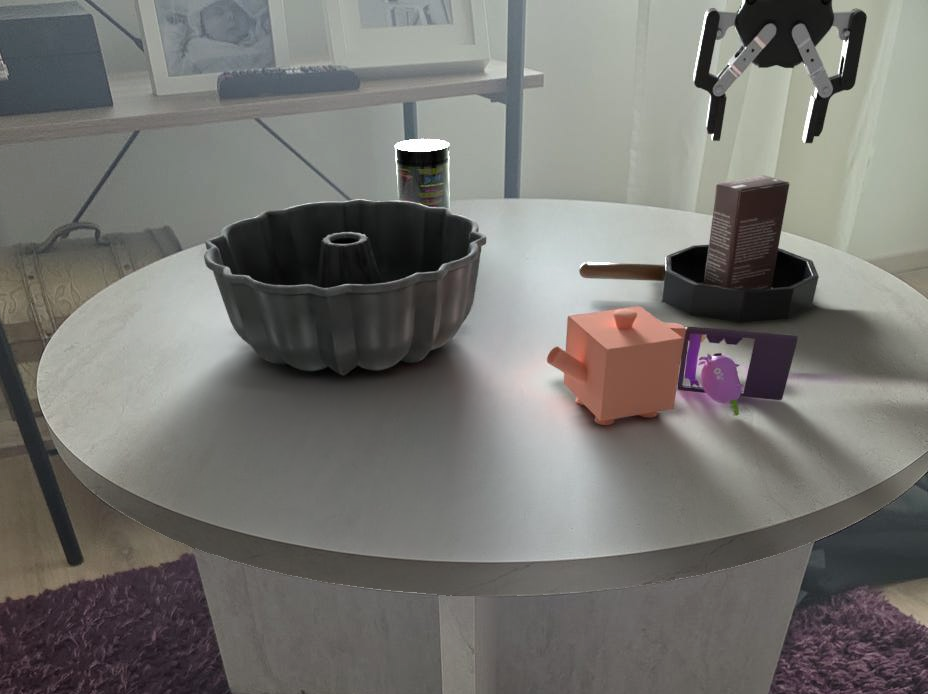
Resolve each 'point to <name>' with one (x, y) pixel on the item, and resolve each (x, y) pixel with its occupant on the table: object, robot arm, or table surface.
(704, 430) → the table surface
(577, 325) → the pink cube teapot
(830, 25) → the robot arm
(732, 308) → the frying pan
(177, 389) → the table surface
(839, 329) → the table surface
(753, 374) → the purple frame figurine
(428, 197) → the supplement container
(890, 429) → the table surface
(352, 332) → the bundt pan
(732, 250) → the box
